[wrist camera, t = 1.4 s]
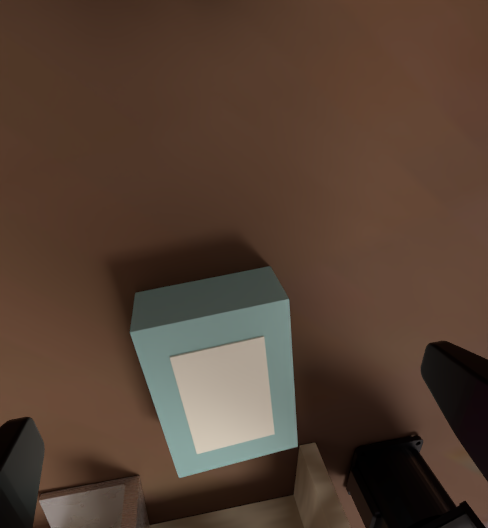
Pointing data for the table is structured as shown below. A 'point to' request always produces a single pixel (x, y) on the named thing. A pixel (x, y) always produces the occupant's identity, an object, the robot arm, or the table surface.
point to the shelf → (282, 504)
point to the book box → (219, 367)
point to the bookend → (97, 505)
